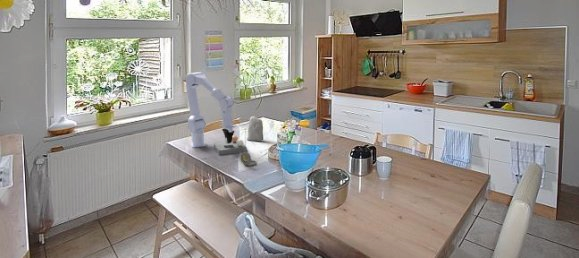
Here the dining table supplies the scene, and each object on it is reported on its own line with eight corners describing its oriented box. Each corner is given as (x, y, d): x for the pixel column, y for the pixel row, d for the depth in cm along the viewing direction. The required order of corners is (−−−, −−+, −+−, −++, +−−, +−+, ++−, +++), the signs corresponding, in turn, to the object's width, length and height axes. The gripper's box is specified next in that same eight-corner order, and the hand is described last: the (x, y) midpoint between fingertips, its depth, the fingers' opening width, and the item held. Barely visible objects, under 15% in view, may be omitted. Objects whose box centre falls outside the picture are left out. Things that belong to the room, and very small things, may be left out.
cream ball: (235, 145, 217) (235, 139, 216) (242, 144, 218) (242, 138, 217) (237, 147, 213) (237, 140, 212) (244, 146, 215) (243, 139, 214)
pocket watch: (256, 161, 196) (256, 143, 194) (256, 167, 188) (255, 148, 186) (241, 162, 196) (240, 144, 194) (239, 167, 188) (238, 148, 185)
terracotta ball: (230, 141, 225) (230, 135, 224) (237, 140, 226) (236, 134, 225) (232, 143, 221) (231, 136, 220) (238, 142, 223) (238, 136, 222)
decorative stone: (265, 140, 236) (264, 117, 232) (259, 142, 231) (258, 118, 228) (251, 137, 242) (250, 115, 238) (245, 140, 237) (244, 117, 233)
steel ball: (224, 142, 216) (224, 136, 215) (231, 142, 217) (231, 135, 216) (225, 145, 213) (225, 138, 212) (232, 144, 214) (232, 138, 213)
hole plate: (213, 146, 224) (213, 142, 223) (239, 143, 230) (239, 139, 229) (218, 154, 209) (218, 150, 208) (246, 151, 214) (246, 147, 214)
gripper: (237, 120, 206) (238, 144, 210) (231, 115, 219) (232, 137, 223) (224, 121, 204) (226, 145, 207) (219, 116, 217) (220, 139, 220)
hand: (228, 141), depth 215 cm, fingers closed on steel ball, 4 cm apart
